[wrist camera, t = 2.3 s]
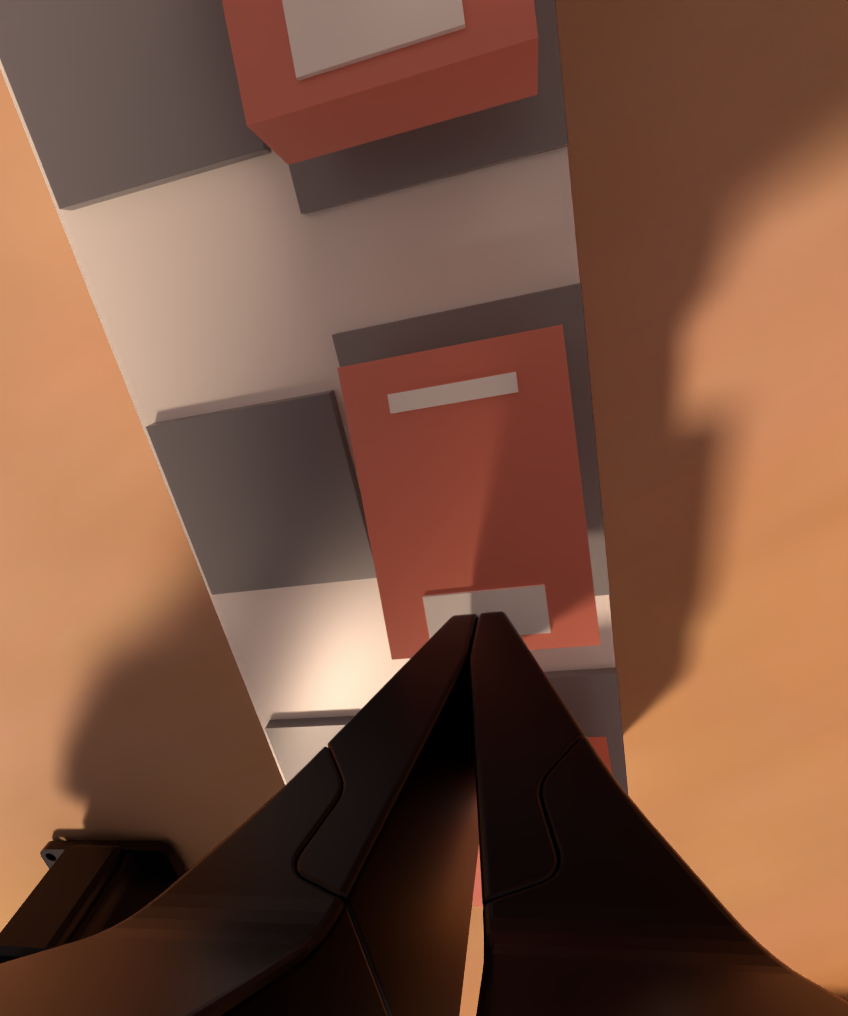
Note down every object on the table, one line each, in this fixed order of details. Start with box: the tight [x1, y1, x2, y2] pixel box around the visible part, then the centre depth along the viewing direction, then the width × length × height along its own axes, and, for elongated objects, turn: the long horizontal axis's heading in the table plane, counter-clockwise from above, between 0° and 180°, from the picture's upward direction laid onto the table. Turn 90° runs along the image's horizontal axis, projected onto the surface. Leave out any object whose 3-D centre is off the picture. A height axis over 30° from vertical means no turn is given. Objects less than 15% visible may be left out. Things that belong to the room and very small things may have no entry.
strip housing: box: [0, 0, 628, 795], centre depth 14 cm, size 29×9×4 cm, turn 11°
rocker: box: [337, 324, 601, 660], centre depth 9 cm, size 5×4×1 cm
